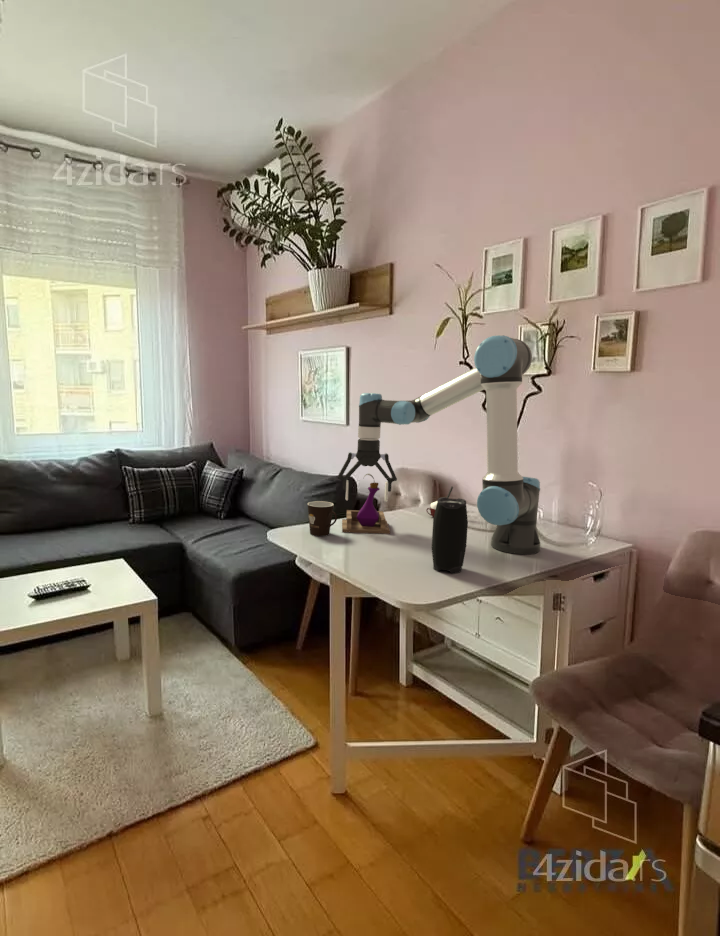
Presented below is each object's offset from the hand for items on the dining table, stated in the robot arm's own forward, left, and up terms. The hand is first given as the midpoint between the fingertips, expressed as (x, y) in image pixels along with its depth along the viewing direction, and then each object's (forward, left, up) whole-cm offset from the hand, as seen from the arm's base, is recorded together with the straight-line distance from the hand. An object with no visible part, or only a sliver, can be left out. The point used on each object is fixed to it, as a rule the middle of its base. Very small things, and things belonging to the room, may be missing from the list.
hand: (366, 500), depth 195 cm
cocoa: (+19, -29, -10) cm, 36 cm away
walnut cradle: (0, 0, -10) cm, 10 cm away
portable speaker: (-42, -21, -10) cm, 48 cm away
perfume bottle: (0, -1, -9) cm, 9 cm away
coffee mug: (-11, +15, -10) cm, 21 cm away
